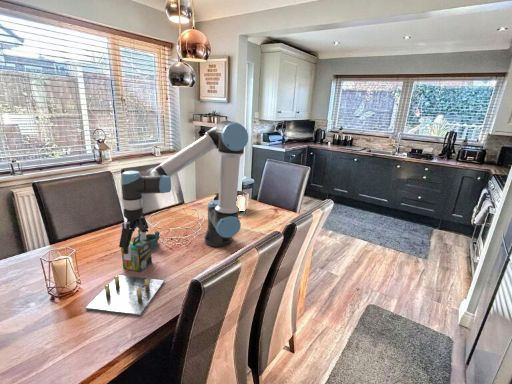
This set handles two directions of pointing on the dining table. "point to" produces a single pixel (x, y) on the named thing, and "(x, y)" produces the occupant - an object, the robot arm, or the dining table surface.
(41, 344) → the dining table surface
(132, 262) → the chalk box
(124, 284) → the plate
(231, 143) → the robot arm
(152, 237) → the green pot
